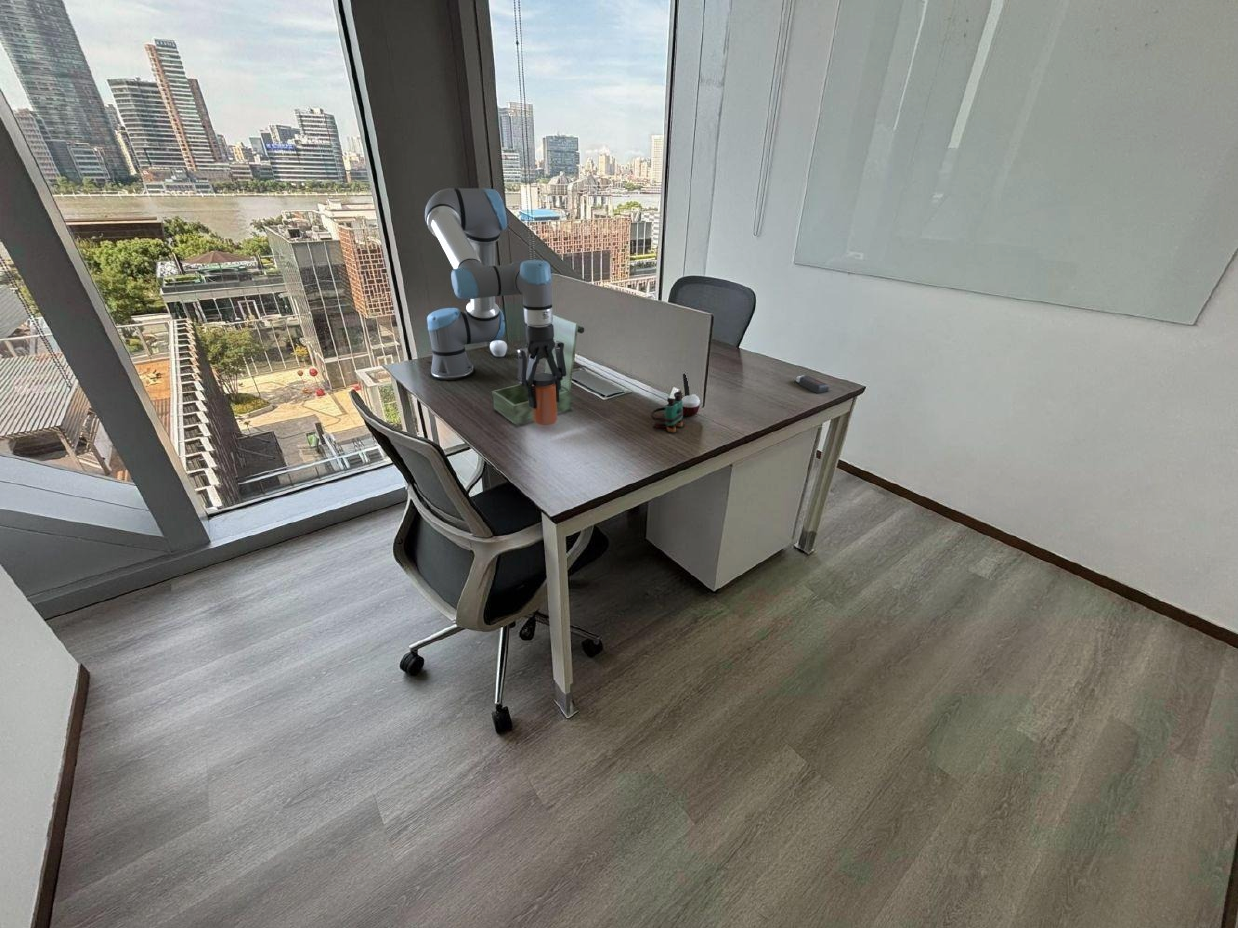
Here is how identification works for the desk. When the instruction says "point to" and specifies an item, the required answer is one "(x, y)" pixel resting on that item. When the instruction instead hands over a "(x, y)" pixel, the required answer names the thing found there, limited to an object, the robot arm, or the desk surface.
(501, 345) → the plain white apple
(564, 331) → the lid
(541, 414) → the jar
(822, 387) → the usb drive
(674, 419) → the binoculars
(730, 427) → the desk surface
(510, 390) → the chest
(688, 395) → the rice bowl with chopsticks
